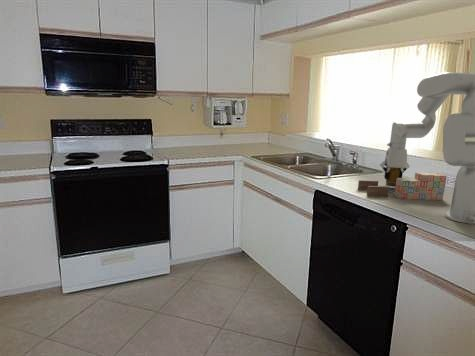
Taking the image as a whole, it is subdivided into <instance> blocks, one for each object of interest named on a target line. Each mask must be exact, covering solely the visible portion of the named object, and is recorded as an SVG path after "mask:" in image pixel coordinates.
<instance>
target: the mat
mask: <svg viewBox="0 0 475 356" xmlns="http://www.w3.org/2000/svg"><path fill="white" fill-rule="evenodd" d="M388 187H389V191H388V193H395V187H392V186H388Z"/></svg>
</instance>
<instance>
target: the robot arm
mask: <svg viewBox="0 0 475 356" xmlns="http://www.w3.org/2000/svg"><path fill="white" fill-rule="evenodd" d="M416 91H417V92H416V93H417V95H418V96H419V97H421V98H420V100H419V101H418V103H417V106H416V107H417V109H418V111H419V112H420V113H422V115H425V116H424V118H423V119H422V120H421V121H420V122H405V121H393V122H392V124H391V131H390V132H391V133H390V140H389V143H387V144H386V145H387V147H388V148H387V151H386V153H385V157H384V160H383V162H381V163H379V167H381V169H382V170H383V171H384V175H383V176H384V179H385V181H386V180H389V170H390V168H400V174H399V178H403V174H404V172H406V170H408V169H409V168H410V166H411V165H409V163H408V151H407V148H406V145H407V139H422V138H424V137H426V136H427V135H428V134H429V133H430V132H431V131H432V129H433V128H434V127H435V125H436V119H437V115H436V113H437V111H438V110H439V108H440V107H441V106H442V105H443V103H444V102H445V101H446V100H447V98H448V97H449V96H450V95H464V97H463V100H462V103H461V112H456V113H452V114H450V115H448V117H447V118H446V119H445V120H444V124H443V127H442V153H443V154H442V155H443V159H444V161H445V163H446V164H447V165H450V166H453V167H460V168H459V169H458V171H457V173H456V177H455V181H454V185H453V186H454V187H453V192H452V198H451V204H450V209H449V211H446V212H445V214H444V216H445V218H447V219H449V220H451V221H455V222H459V223H464V224H471V225H475V140H474V141H472V140H471V141H470V140H469V141H468V140H467V141H466V139H475V73H473V72H452V71H451V72H449V71H448V72H447V71H445V72H441V73H438V74H434V75H429V76H427V77H425V78H423V79H422V80H420V81H419V83H418V85H417V88H416Z"/></svg>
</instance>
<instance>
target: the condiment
mask: <svg viewBox="0 0 475 356" xmlns="http://www.w3.org/2000/svg"><path fill="white" fill-rule="evenodd" d="M399 174H400V168H390V170H389V180H386V179H385V182H384V186H392V187H396V181H397V178H399Z"/></svg>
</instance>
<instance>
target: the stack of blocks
mask: <svg viewBox="0 0 475 356" xmlns="http://www.w3.org/2000/svg"><path fill="white" fill-rule="evenodd" d="M446 181H447V175H446V174H443V173H439V172H414V178H413V177H412V178H411V177H410V178H409V177H408V178H407V177H402V178H397V181H396V187H395V192H394V196H395V197H396V198H398V199H400V200H430V201H431V200H434V201H436V200H437V201H443V199H444V193H445V187H446V183H447V182H446Z"/></svg>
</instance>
